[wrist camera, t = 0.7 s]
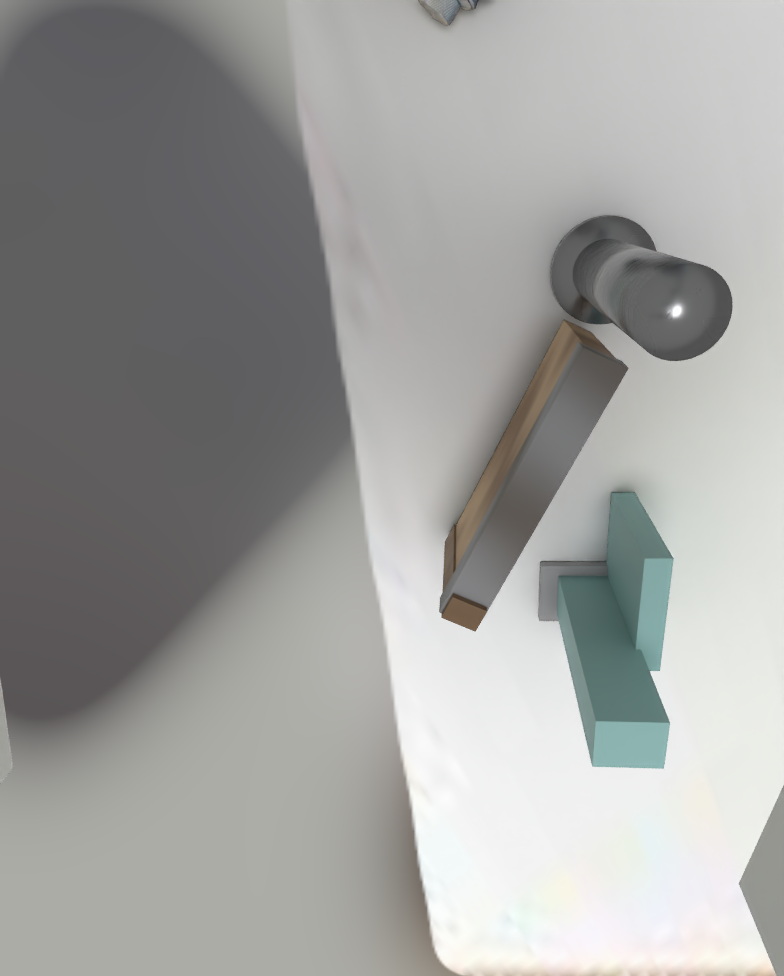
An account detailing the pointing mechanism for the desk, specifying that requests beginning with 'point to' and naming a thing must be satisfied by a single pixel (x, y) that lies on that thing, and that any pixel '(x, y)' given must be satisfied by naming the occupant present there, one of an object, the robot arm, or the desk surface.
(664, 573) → the stile
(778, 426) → the desk surface
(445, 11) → the camera
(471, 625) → the gate
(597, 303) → the hinge post
